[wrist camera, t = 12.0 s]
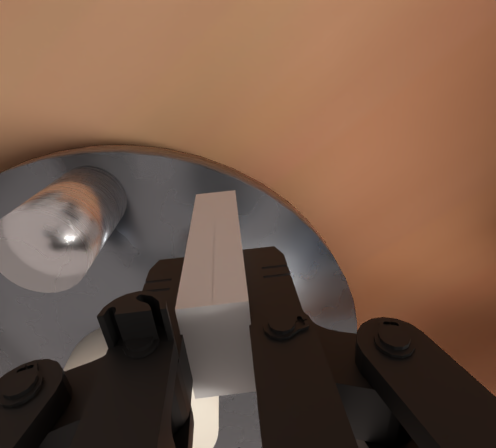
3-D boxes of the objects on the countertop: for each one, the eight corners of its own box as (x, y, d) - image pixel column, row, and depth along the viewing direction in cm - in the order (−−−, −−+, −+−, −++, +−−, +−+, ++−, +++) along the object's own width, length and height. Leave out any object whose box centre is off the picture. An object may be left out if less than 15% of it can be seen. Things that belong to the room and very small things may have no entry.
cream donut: (44, 330, 18) (5, 390, 15) (207, 310, 18) (204, 364, 15) (94, 430, 22) (71, 495, 19) (227, 413, 22) (228, 474, 19)
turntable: (-194, 171, 15) (-460, 241, 9) (363, 121, 16) (447, 155, 10) (21, 481, 27) (-36, 601, 21) (338, 442, 27) (370, 546, 22)
